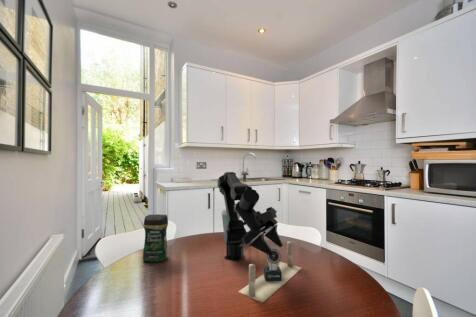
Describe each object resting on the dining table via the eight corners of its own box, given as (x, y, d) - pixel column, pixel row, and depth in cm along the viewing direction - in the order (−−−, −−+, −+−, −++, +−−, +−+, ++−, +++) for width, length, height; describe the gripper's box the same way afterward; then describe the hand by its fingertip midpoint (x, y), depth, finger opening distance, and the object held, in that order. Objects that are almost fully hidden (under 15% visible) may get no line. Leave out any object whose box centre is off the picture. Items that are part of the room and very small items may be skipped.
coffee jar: (140, 263, 94) (140, 216, 94) (147, 255, 101) (147, 212, 102) (164, 262, 94) (165, 216, 94) (169, 255, 102) (169, 212, 102)
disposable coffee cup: (222, 233, 133) (222, 207, 133) (240, 234, 133) (241, 207, 133) (220, 239, 122) (220, 211, 123) (240, 240, 122) (240, 211, 122)
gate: (238, 294, 73) (238, 262, 73) (280, 263, 95) (280, 239, 95) (263, 304, 67) (263, 270, 67) (301, 270, 89) (301, 244, 89)
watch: (266, 284, 77) (266, 250, 77) (262, 272, 85) (262, 242, 85) (283, 283, 77) (283, 250, 78) (278, 272, 85) (278, 242, 86)
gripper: (250, 204, 75) (283, 245, 70) (272, 197, 92) (300, 229, 86) (230, 225, 79) (259, 265, 73) (254, 215, 95) (280, 247, 89)
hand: (277, 250), depth 80 cm, fingers open, 9 cm apart
